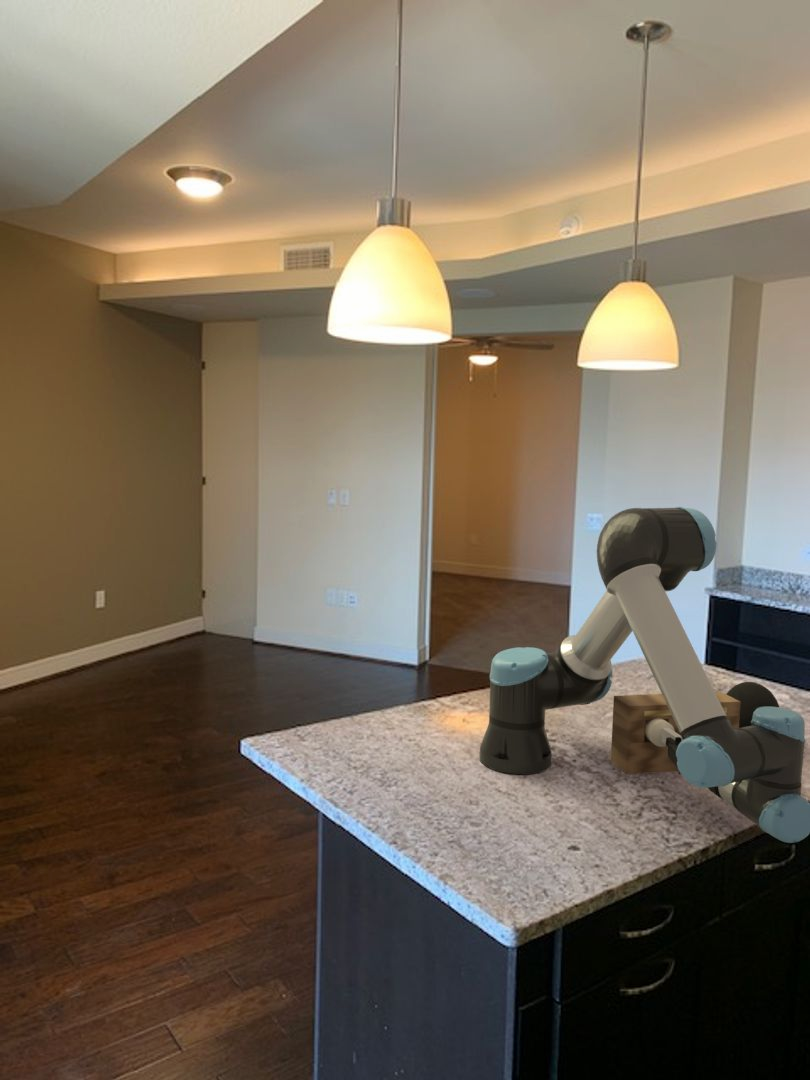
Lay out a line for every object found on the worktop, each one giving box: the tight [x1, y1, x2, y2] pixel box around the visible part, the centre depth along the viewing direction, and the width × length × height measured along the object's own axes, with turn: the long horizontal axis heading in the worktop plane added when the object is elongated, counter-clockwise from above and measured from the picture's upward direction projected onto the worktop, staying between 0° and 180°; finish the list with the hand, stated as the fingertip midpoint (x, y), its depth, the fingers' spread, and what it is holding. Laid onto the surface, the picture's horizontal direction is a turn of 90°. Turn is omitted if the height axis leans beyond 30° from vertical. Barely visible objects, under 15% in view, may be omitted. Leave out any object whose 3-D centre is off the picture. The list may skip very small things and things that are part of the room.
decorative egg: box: [726, 681, 780, 728], centre depth 175 cm, size 12×12×15 cm
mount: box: [610, 691, 741, 775], centre depth 164 cm, size 25×7×14 cm, turn 101°
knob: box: [645, 718, 675, 747], centre depth 164 cm, size 5×15×5 cm, turn 11°
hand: (665, 734), depth 156 cm, fingers closed
